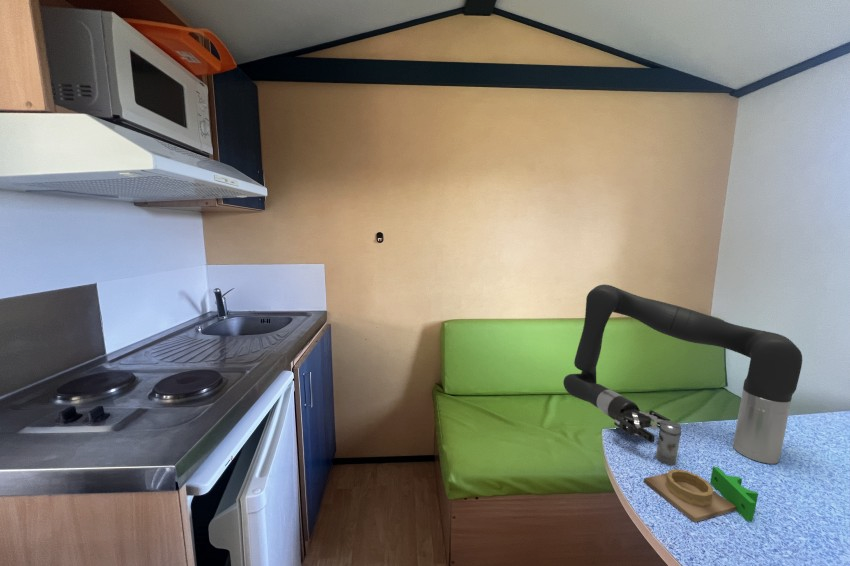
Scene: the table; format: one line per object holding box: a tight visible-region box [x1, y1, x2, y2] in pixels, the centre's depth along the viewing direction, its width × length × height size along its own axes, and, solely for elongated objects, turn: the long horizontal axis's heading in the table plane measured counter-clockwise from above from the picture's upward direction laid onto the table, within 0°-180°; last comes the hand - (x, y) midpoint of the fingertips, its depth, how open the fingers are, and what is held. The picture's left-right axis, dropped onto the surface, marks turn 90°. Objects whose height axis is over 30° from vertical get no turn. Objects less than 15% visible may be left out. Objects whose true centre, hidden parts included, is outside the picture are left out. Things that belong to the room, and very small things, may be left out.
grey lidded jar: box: [655, 420, 682, 467], centre depth 91 cm, size 5×5×10 cm
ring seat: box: [643, 468, 737, 523], centre depth 79 cm, size 12×12×4 cm
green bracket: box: [709, 466, 759, 523], centre depth 77 cm, size 11×4×5 cm, turn 173°
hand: (666, 437), depth 91 cm, fingers open, 8 cm apart
